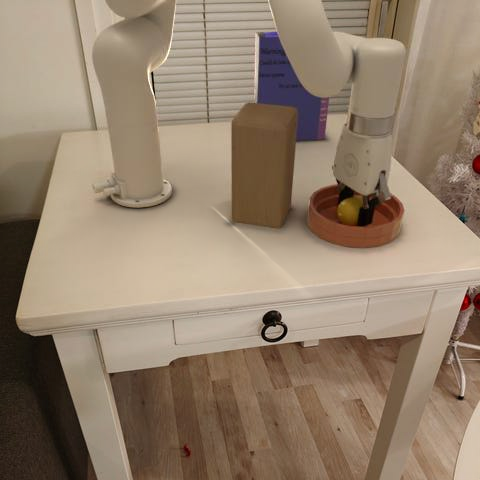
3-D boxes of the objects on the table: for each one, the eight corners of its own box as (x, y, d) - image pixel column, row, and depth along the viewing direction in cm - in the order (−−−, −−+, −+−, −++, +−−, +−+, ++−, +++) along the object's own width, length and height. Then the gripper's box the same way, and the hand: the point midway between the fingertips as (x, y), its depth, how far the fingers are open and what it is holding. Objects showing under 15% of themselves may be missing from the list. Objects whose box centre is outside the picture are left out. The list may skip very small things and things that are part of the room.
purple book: (319, 132, 138) (330, 29, 123) (324, 140, 135) (336, 34, 119) (253, 135, 136) (255, 31, 121) (256, 143, 133) (259, 36, 117)
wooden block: (291, 207, 108) (299, 105, 95) (281, 231, 100) (288, 125, 88) (243, 200, 110) (245, 100, 97) (230, 224, 102) (229, 119, 90)
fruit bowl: (345, 260, 93) (349, 238, 90) (289, 217, 105) (290, 196, 102) (418, 234, 100) (424, 213, 97) (358, 196, 112) (361, 176, 109)
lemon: (345, 234, 99) (349, 209, 95) (328, 222, 102) (331, 197, 99) (377, 223, 102) (382, 199, 98) (360, 212, 105) (364, 187, 102)
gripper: (320, 110, 94) (311, 203, 105) (388, 143, 83) (368, 244, 94) (354, 103, 97) (341, 195, 108) (423, 134, 85) (400, 233, 97)
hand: (354, 217), depth 101 cm, fingers closed on lemon, 5 cm apart
